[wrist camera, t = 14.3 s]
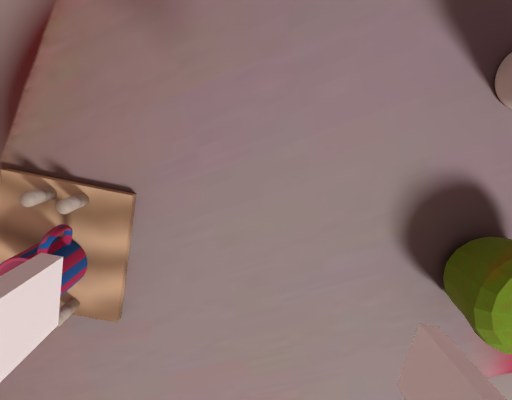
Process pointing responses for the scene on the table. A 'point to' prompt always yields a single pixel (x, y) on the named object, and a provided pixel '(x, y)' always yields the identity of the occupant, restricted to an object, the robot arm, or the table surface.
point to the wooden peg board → (84, 234)
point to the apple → (483, 288)
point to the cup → (57, 246)
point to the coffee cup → (504, 81)
